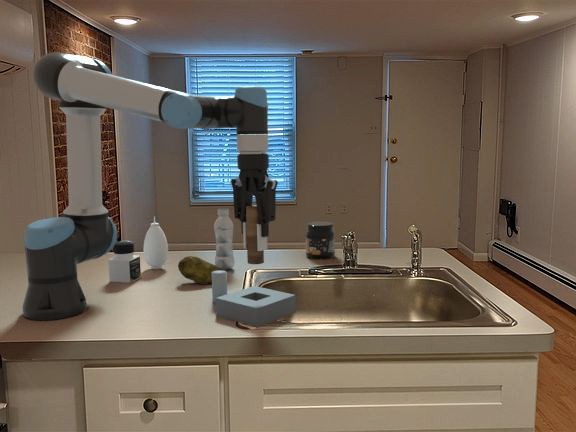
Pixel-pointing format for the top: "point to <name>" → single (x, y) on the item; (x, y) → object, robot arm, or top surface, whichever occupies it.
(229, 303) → the hole block
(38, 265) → the robot arm
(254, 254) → the long pin
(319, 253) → the supplement container
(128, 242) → the medicine bottle
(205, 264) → the potato
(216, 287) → the short pin
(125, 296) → the top surface
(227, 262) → the plastic bottle
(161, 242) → the sauce bottle
